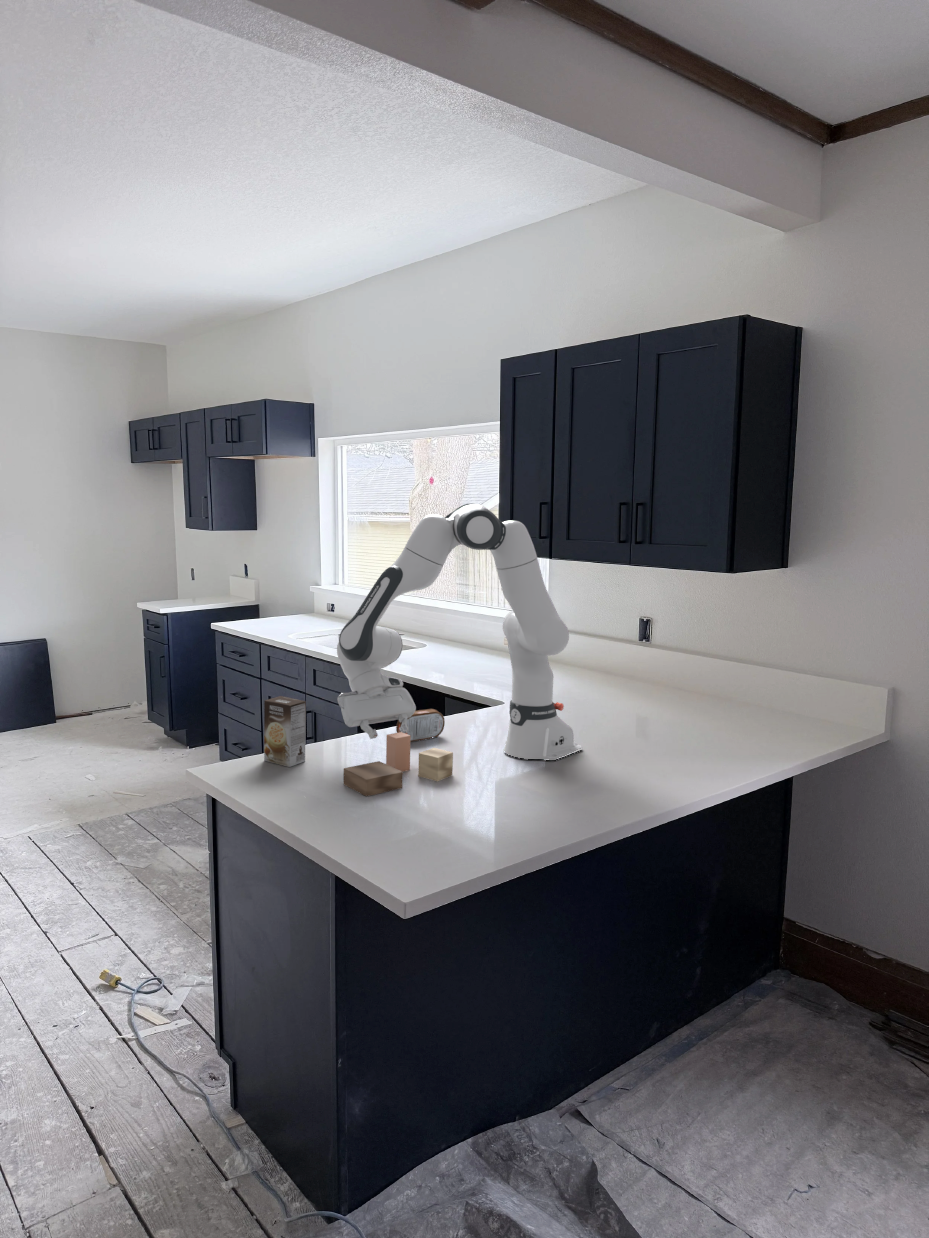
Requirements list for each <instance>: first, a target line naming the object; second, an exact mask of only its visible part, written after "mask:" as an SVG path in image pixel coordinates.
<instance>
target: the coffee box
mask: <svg viewBox="0 0 929 1238" xmlns="http://www.w3.org/2000/svg"><path fill="white" fill-rule="evenodd" d="M263 705H264V708H263V709H264V711H263V712H264V717H263V718H264V721H263V724H264V725H263V726H264V728H263V729H264V731H263V732H264V733H263V736H264V738H263V740H264V741H263V745H264V746H263V751H264V752H263V755H264V757H263V760H264V762H268V763H273V764H276V765H279V766H280V765H281V766H282V767H283V766H284V767H287V768H291V767H294V766H297V765H299V764H301V763H304V762H306V736H307V735H306V734H307V733H306V732H307V731H306V729H307V728H306V726H307V725H306V724H307V723H306V722H307V721H306V720H307V717H306V716H307V715H306V714H307V700H300V699H297V698H292V697H288V696H283V695H279V696H276V697H272V698H268V699H265V700H264V703H263Z"/></svg>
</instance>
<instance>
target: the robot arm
mask: <svg viewBox="0 0 929 1238" xmlns="http://www.w3.org/2000/svg"><path fill="white" fill-rule="evenodd" d="M460 545H462V546H464V547H466V548H468V549H472V550H475V551H476V550H477V551H478V550H479V551H486V550H487V551H490V553H491V555H492V557H493V560H494V564H495V568H496V572H497V575H498V579H499V583H500V587H501V591H502V595H503V596H504V599H505V600H506V601H507V603H508V605H509V606H510V608H511V611H509V612H508V613H507V614H506V616H505V617H504V619H503V621H502V622H503V623H502V631H503V634H504V636H505V639H506V642H507V646H508V654H509V658H510V659H509V660H510V666H511V699H510V701H509V712H508V713H509V723H508V724H509V725H508V730H507V736H506V740H505V743H504V749H503V752H504V751H505V752H506V753H507V754H509V755H511V756H510V757H512V756H514V757H513V758H515V757H518V758H517V759H520V758H524V759H523V760H528V759H549V760H555V759H557V758H559V757H562V756H565V755H567V754H569V753H572V752H574V751H576V750H578V749H581V748H582V749H583V747H582V745H581V744H579V743H578V742H576V741H575V737H574V735H575V734H574V730H573V728H572V727H571V726H570V724H568V723H567V722H566V721H564V720H563V719H562V718H561V717H560V716H559V715H558V713H557V710H558V711H563V710H564V707H565V706H564V703H560V702H557V701H556V702H554V696H553V695H554V672H553V668H552V667H551V666H550V665H551V664H550V662H549V657H548V656H555V655H558V654H561V653H562V652H563V651H564V650H565V649H566V647H567V646H568V643H569V639H570V632H569V631H570V630H569V629H568V627H567V625H566V624H565V623H564V621H563V620H562V618H561V616H560V615H559V613H558V611H557V609H556V607H555V604H554V603H553V601H552V598H551V596H550V595H549V592H548V590H547V587H546V585H545V581H544V579H543V574H542V571H541V568H540V567H541V566H540V563H539V560H538V555H537V552H536V549H535V545H534V543H533V541H532V538H531V535H530V533H529V530H528V528H527V527H526V525H525V524H524V523H523V522H521V521H519V520H513V519H512V520H505V521H502V520H501V519H499V518H498V517H497V516H496V514H495V513H494V512H492V511H491V510H489V509H488V508H487V507H486V506H484V505H482V504H476V503H466V504H463V505H460V506H459V507H457V508H456V509H454V510H453V511H452V512H450V513H449V514H447V515H446V516H443V515H440V514H434V513H433V514H428V515H425V516H424V517H423V518H422V519H421V520H420V521H419V522H418V524H417V525H416V527H415V528H414V529H413V531H412V533H411V534H410V536H409V538H408V540H407V542H406V544H405V546H404V548H403V550H402V551H401V553H400V554H399V555H398V557H397V559H396V560H395V561H394V562H393V564H392V565H390V566H389V567H388V568H386V569H385V570H384V571H383V572H382V573H381V574H380V576H378V579H376V581H375V582H374V585H373V586H372V587H371V589H370V591H369V592H368V594H367V595H366V597H365V599H364V600H363V602H362V603H361V605H360V607H359V608H358V610H357V611H356V612H355V614H354V615H353V617H351V619H350V620H349V621H348V622H346V624H345V625H344V626H343V628H341V632H340V634H339V638H338V643H337V645H336V651H337V652H336V653H337V659H338V662H339V664H340V667H341V669H342V672H343V674H344V675H345V677H346V678H347V679H348V684H349V688H350V690H351V691H349V692H341V693H340V694H339V695H338V696H337V701H336V702H337V703H338V706H339V708H340V709H341V715H342V718H343V721H344V724H345V725H346V726H347V727H349V728H354V727H359V726H360V729H361V730H362V731H363V732H364V733H366V734H367V735H368V737H369V740H372V739H376V738H377V737H378V735H379V734H378V732H377V730H376V728H374V729H373V728H372V727H371V726H370V725H372V724H378V723H384V722H391V721H396V720H397V721H398V720H399V722H402V725H401V727H400V728H399V729H400V731H401V732H403V733H407V732H408V730H409V729H408V726H407V718H410V717H411V716H412V715H413V714H414V712H415V711H417V706H416V704H415V702H414V699H413V697H412V695H411V694H410V692H409V691H408V690H407V689H406V688H405V687H403V686H404V682H403V680H402V679H401V678H397V677H391V676H387V675H385V674H382V672H381V669H384V668H386V667H388V666H390V665H391V664H393V663H395V661H397V660H398V659H399V657H400V656H401V654H402V651H403V640H402V636H401V635H400V633H399V632H398V631H397V630H395V629H393V628H389V627H385V626H380V625H378V624H379V623H380V621H381V619H382V618H383V616H384V615H385V613H386V611H387V610H388V608H389V606H390V605H391V603H392V602H393V601H394V600H395V599H397V598H398V597H399V596H402V595H404V594H407V593H411V592H414V591H421V590H424V589H427V588H428V587H430V586H432V585H433V584H434V583H435V582H436V580H437V578H439V576H440V573H441V571H442V570H443V567H444V565H445V563H446V561H447V559H448V557H449V555H450V554H451V552H452V551H453V549H455V548H456V547H458V546H460ZM505 744H506V745H505ZM507 754H506V755H507ZM509 755H508V756H509Z"/></svg>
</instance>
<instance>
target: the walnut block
mask: <svg viewBox="0 0 929 1238" xmlns="http://www.w3.org/2000/svg"><path fill="white" fill-rule="evenodd" d="M403 778H404V776H403V772H402V771H400V770H398V769H395V768H393V767H391V766H389V765H387V764H386V763H384V762H382V761H380V760H377V761H374V762H368V763H363V764H362V763H361V764H359V765H353V766H349V767H348V766H347V767H344V768H343V785H344V786H345V787H348V788H350V789H351V790H353V791H355V792H357V793H359V794H361V795H363V796H365V797H369V796H374V795H379V794H383V793H384V794H385V793H388V792H392V791H396V790H400V789H403V782H404V781H403Z"/></svg>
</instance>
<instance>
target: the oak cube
mask: <svg viewBox="0 0 929 1238" xmlns="http://www.w3.org/2000/svg"><path fill="white" fill-rule="evenodd" d="M453 765H454V752H453V751H448V750H446V749H440V748H437V747H432V748H429V749H427V750H423V751H421V752H418V768H417V769H418V772H417V773H418V777H419V778H423V779H428V780H430V779H431V781H434V782H440V781H442V780H444V779H447V778H450V777H452V776H453V770H454V768H453ZM449 776H450V777H449Z"/></svg>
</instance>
